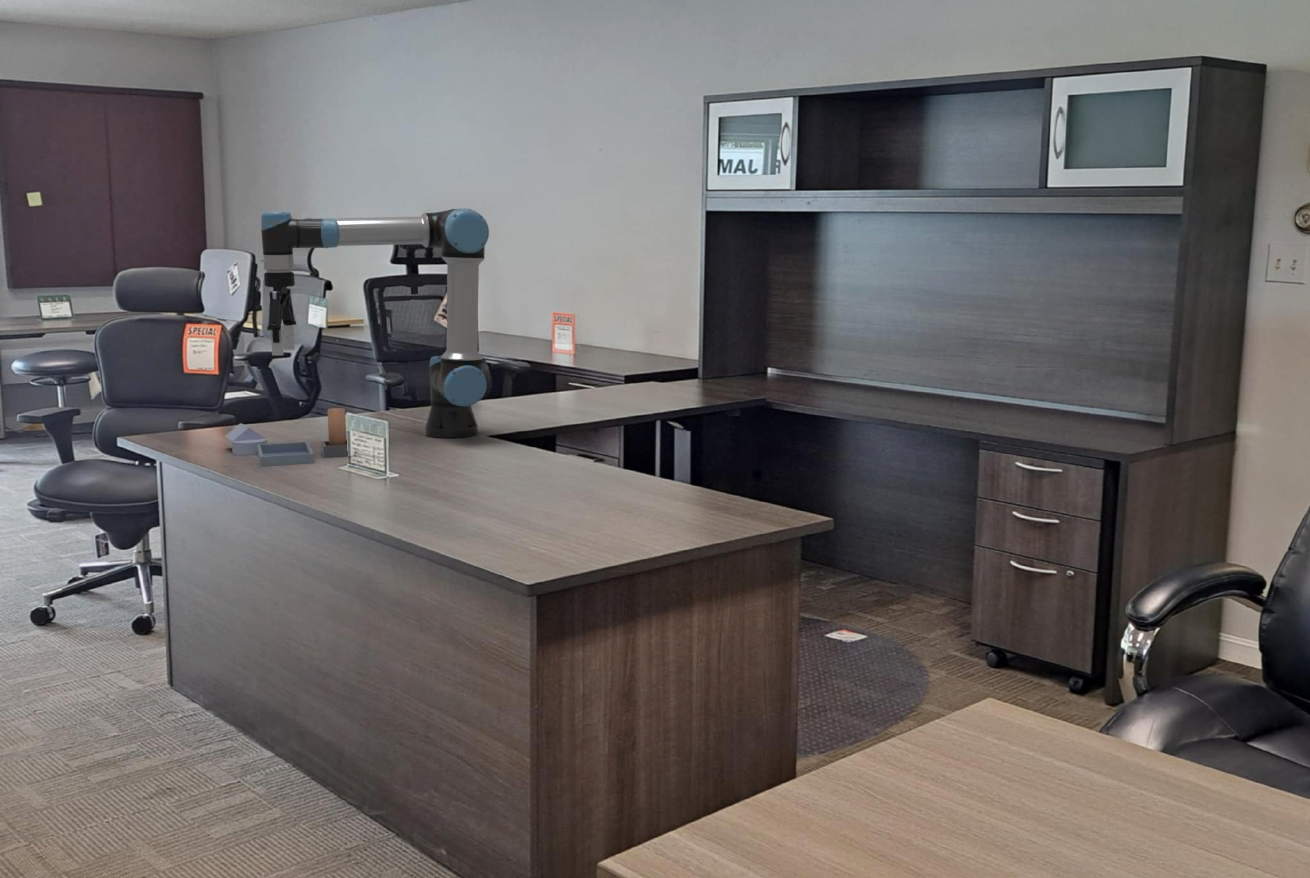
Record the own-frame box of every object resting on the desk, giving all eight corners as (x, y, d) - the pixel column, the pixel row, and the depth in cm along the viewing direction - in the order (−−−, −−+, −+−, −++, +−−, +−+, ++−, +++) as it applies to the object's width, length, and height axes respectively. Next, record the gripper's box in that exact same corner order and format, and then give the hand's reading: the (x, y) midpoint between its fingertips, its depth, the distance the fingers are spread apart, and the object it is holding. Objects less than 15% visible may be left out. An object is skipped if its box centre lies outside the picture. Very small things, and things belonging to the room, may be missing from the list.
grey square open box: (351, 452, 328) (351, 439, 328) (355, 458, 321) (354, 444, 320) (321, 454, 325) (320, 441, 325) (324, 460, 318) (323, 446, 317)
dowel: (345, 452, 326) (343, 407, 324) (347, 455, 322) (345, 410, 320) (328, 453, 324) (326, 408, 322) (330, 456, 320) (328, 411, 318)
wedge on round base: (225, 448, 333) (237, 456, 322) (223, 424, 332) (235, 431, 321) (258, 445, 338) (271, 453, 327) (257, 421, 337) (270, 428, 326)
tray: (308, 452, 328) (307, 441, 328) (314, 465, 311) (313, 453, 311) (257, 455, 324) (256, 444, 323) (260, 468, 307) (260, 456, 306)
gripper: (275, 269, 331) (279, 347, 334) (252, 273, 306) (257, 357, 310) (303, 269, 331) (307, 347, 335) (283, 273, 307) (287, 357, 311)
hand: (283, 352), depth 323 cm, fingers open, 13 cm apart
